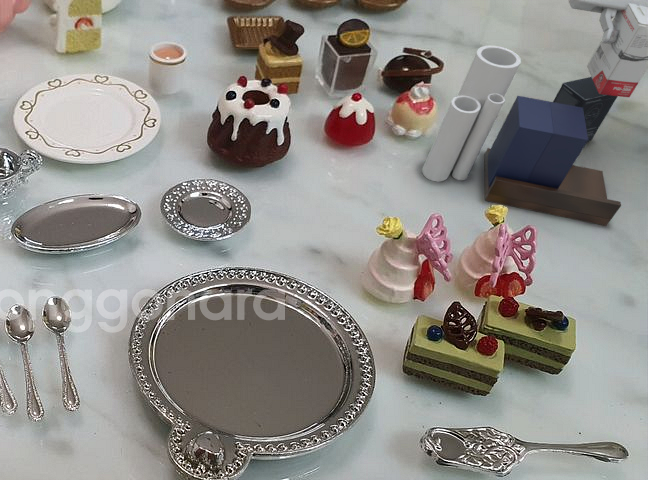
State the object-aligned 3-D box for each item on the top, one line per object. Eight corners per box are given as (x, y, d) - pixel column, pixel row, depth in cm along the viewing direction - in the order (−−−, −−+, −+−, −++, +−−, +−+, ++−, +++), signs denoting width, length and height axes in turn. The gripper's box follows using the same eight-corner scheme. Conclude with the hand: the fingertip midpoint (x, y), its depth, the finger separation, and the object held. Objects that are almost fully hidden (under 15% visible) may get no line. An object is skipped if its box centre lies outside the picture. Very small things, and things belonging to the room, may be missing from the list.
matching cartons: (548, 166, 130) (583, 107, 121) (551, 199, 124) (588, 140, 115) (487, 154, 132) (517, 95, 123) (488, 186, 126) (519, 126, 117)
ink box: (630, 99, 117) (675, 28, 108) (597, 95, 118) (640, 24, 109) (616, 69, 123) (658, -1, 114) (585, 65, 123) (624, -4, 114)
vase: (438, 142, 136) (482, 40, 121) (478, 156, 134) (528, 55, 118) (418, 175, 130) (462, 72, 115) (459, 191, 127) (510, 88, 112)
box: (569, 124, 141) (598, 74, 133) (591, 141, 137) (622, 91, 129) (535, 131, 139) (562, 81, 131) (556, 149, 135) (585, 99, 127)
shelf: (598, 177, 131) (612, 156, 127) (606, 226, 122) (621, 205, 119) (484, 154, 134) (494, 133, 131) (484, 200, 126) (495, 179, 122)
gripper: (593, -65, 112) (566, 27, 114) (745, -44, 108) (715, 52, 110) (576, -48, 118) (551, 40, 120) (719, -27, 115) (691, 64, 116)
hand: (631, 46), depth 115 cm, fingers closed on ink box, 5 cm apart
